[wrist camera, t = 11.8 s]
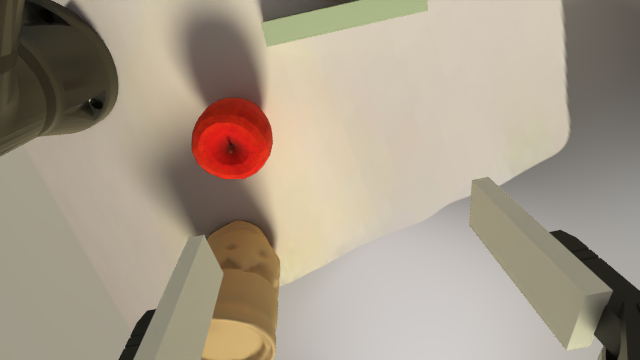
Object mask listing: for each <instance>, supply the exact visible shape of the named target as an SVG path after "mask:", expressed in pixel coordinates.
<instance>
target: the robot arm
mask: <svg viewBox="0 0 640 360" xmlns="http://www.w3.org/2000/svg"><path fill="white" fill-rule="evenodd" d="M117 95H118V77H117V72H116V68H115V65H114V62H113V60H112V57H111V55H110V53H109V51H108V50H107V48H106V46H105V45H104V43H103V42H102V40H101V39H100V38H99V36H98V35H97V34H96V33H95V32H94V31H93V29H92V28H91V27H90V26H89V25H88V24H87V23H85V22H84V21H83V20H82V19H81V18H80V17H78V16H77V15H76V14H74V13H73V12H72V11H70V10H68V9H67V8H65V7H63V6H62V5H60V4H58V3H56V2H54V1H51V0H0V156H2V155H4V154H6V153H8V152H10V151H12V150H13V149H15V148H17V147H19V146H21V145H23V144H25V143H27V142H29V141H30V140H32V139H34V138H36V137H39V136H50V135H61V134H71V133H76V132H80V131H83V130H86V129H88V128H90V127H91V126H93V125H95V124H96V123H98V122H100V121H101V120H103V119H104V118H105V117H106V116H107V115H108V114H109V113H110V112H111V110H112V109H113V107H114V105H115V102H116V99H117ZM469 225H470V227H471V228H472V229H473V231H474V232H475V233H476V235H477V236H478V237H479V238H480V240H481V241H482V242H483V244H484V245H485V246H486V248H487V249H488V250H489V251H490V253H491V254H492V255H493V256H494V258H495V259H496V260H497V262H498V263H499V264H500V265H501V267H502V268H503V269H504V271H505V272H506V273H507V275H508V276H509V277H510V278H511V280H512V281H513V282H514V283H515V285H516V286H517V287H518V289H519V290H520V291H521V293H522V294H523V295H524V296H525V298H526V299H527V300H528V302H529V303H530V304H531V305H532V307H533V308H534V309H535V311H536V312H537V313H538V315H539V316H540V317H541V318H542V320H543V321H544V322H545V323H546V325H547V326H548V327H549V329H550V330H551V331H552V333H553V334H554V335H555V336H556V338H557V339H558V340H559V342H560V343H561V344H562V345H563V347H564V348H565V349H566V350H571V349H576V348H582V347H588V346H590V344H591V342H592V339H593V337H594V335H595V336H596V337H597V338H598V340H599V341H600V342H601V343H602V344H603V345H604V346H603V348H602V351H601V353H600V355H599V357H598V360H640V291H639V290H638V289H637V288H636V287H634V286H633V285H632V284H631V283H630V282H628V281H627V280H626V279H625V278H624V277H623V276H621V275H620V274H619V273H618V272H616V271H615V270H614V269H613V268H612V267H611V266H609V265H608V264H607V263H606V262H605V261H604V260H602V259H601V258H599V257H598V255H596V254H595V253H594V252H593V251H592V250H589V249H588V247H587V246H586V245H585V244H583V243H582V242H581V241H580V240H579V239H577V238H576V237H574V236H572V235H570V234H568V233H566V232H564V231H562V230H558V231H553V232H548V231H547V230H546V229H545V228H544V227H543V226H541V225H540V224H539V223H538V222H537V221H536V220H535V219H534V218H533V217H532V216H531V215H529V214H528V213H527V212H526V211H525V210H524V209H523V208H522V207H521V206H519V205H518V204H517V203H516V202H515V201H514V200H513V199H512V198H510V196H508V195H507V194H506V193H505V192H504V191H503V190H502V189H501V188H500V187H499V186H498V185H496V184H495V183H494V182H493V181H492V180H491V179H490V178H489V177H486V178H481V179H476V180H472V189H471V206H470V222H469ZM223 274H224V273H223V271H222V269H221V267H220V265H219V263H218V261H217V260H216V258H215V256H214V254H213V252H212V250H211V248H210V246H209V244H208V242H207V240H206V238H205V236H204V235H199V236H194V237H189V238H188V241H187V243H186V245H185V247H184V249H183V252H182V254H181V256H180V258H179V260H178V263H177V265H176V267H175V269H174V271H173V274H172V276H171V278H170V280H169V282H168V285H167V287H166V289H165V291H164V293H163V296H162V298H161V300H160V302H159V304H158V307H157V309H154V310H149V311H147V312H146V313H145V314H144V315H143V316H142V317H141V319H140V320H139V321H138V322H137V324H136V326H135V328H134V330H133V332H132V334H131V338H129V340H128V342H127V344H126V346H125V349H124V350H123V352H122V354H121V356H120V358H119V360H201V357H202V353H203V350H204V346H205V342H206V338H207V334H208V331H209V327H210V323H211V319H212V316H213V312H214V308H215V304H216V301H217V297H218V293H219V289H220V286H221V282H222V278H223Z"/></svg>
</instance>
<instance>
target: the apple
mask: <svg viewBox="0 0 640 360" xmlns="http://www.w3.org/2000/svg"><path fill="white" fill-rule="evenodd" d="M272 144H273V140H272V130H271V126H270V123H269V121H268V119H267V117H266V115H265V114H264V112H263V111H262V110H261V109H260V108H259V106H257V105H256V104H254V103H253V102H251V101H249V100H246V99H242V98H226V99H222V100H218V101H216V102H215V103H213V104H211V105H210V106H209V107H208V108H207V109H206V110H205V111H204V112H203V113H202V115H201V116H200V117H199V119H198V120H197V122H196V124H195V127H194V130H193V133H192V152H193V154H194V157H195V159H196V161H197V163H198V164H199V165H200V166H201V167H202V168H203V169H204V170H206V171H207V172H208V173H210V174H213V175H215V176H218V177H220V178H223V179H244V178H247V177H249V176H251V175H253V174H255V173H257V172H258V171H259V170H260V169H261V168H262V167H263V166H264V164H265V162H266V161H267V159H268V157H269V156H270V153H271V149H272Z"/></svg>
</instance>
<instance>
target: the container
mask: <svg viewBox="0 0 640 360" xmlns="http://www.w3.org/2000/svg"><path fill="white" fill-rule="evenodd" d="M207 242H208V244H209V246H210V248H211V250H212V252H213V254H214V256H215V258H216V260H217V261H218V263H219V265H220V267H221V269H222V271H223V273H224V274H223V278H222V282H221V286H220V289H219V293H218V297H217V301H216V304H215V308H214V312H213V316H212V319H211V323H210V327H209V331H208V334H207V338H206V342H205V346H204V350H203V353H202V357H201V360H273V359H274V355H275V350H276V335H275V331H276V327H277V315H278V300H277V299H278V292H279V277H280V260H279V258H278V256H277V255H276V253H275V252H274V250H273V249H272V247H271V245H270V244H269V242H268V240H267V238H266V237H265V235H264V233H263V232H262V231H261V230H260V229H259V228H258V227H257V226H256V225H253V224H251V223H250V222H245V221H242V220H237V221H232V222H231V223H230V224H228V225H226V226H224V227H222V228H220V229H218V230H217V231H215V232H214V233H213V234H212V233H211V234H210V235H209V237H208V239H207Z"/></svg>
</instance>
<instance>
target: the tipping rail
mask: <svg viewBox="0 0 640 360" xmlns="http://www.w3.org/2000/svg"><path fill="white" fill-rule="evenodd" d="M423 11H428V8H427V0H355V1H351V2H347V3H342V4H338V5H334V6H329V7H325V8H321V9H316V10H312V11H307V12H303V13H299V14H294V15H290V16H286V17H281V18H277V19H272V20H268V21H264V22H262V23H261V25H262V29H263V33H264V36H265V40H266V44H267V47H268V46H273V45H277V44H281V43H286V42H290V41H295V40H299V39H304V38H308V37H312V36H317V35H321V34H326V33H330V32H335V31H339V30H344V29H348V28H352V27H357V26H361V25H366V24H370V23H375V22H379V21H383V20H388V19H392V18H397V17H401V16H406V15H410V14H414V13H419V12H423Z"/></svg>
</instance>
